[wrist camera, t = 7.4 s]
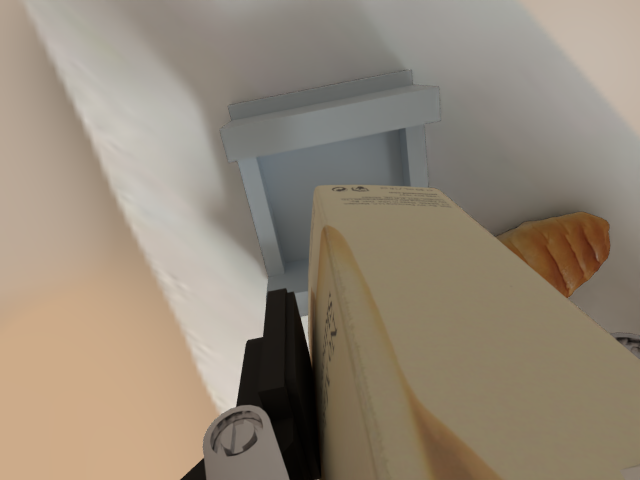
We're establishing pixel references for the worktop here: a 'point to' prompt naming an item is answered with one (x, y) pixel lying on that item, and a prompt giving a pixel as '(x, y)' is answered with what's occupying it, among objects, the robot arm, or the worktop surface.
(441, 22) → the worktop surface
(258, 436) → the robot arm
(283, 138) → the grey rectangular frame
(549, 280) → the pastry
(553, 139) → the worktop surface
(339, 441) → the skincare box
